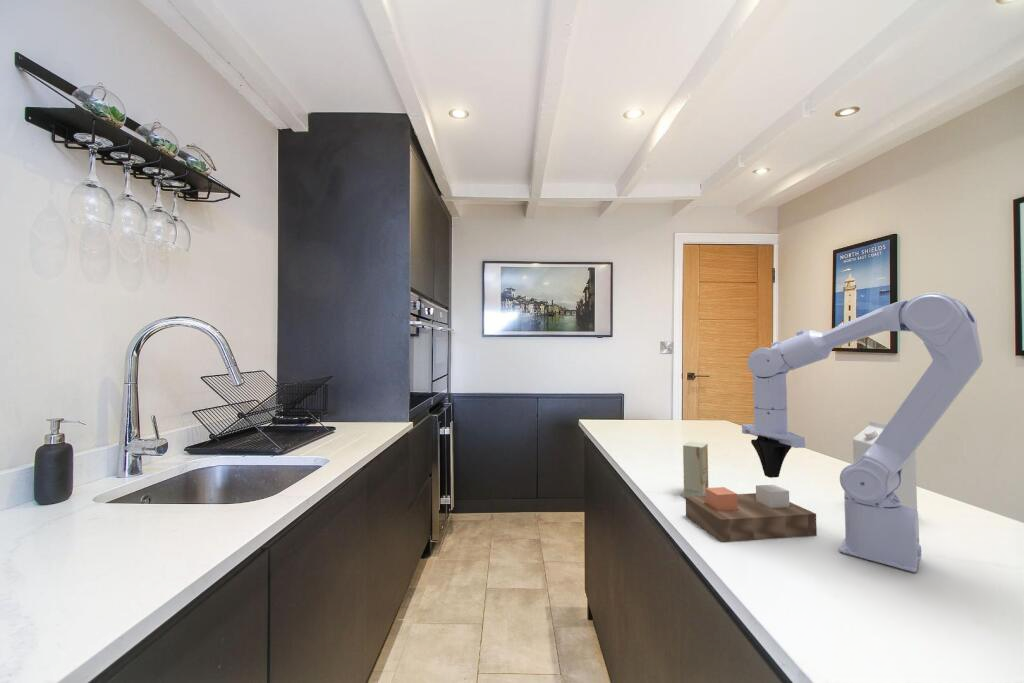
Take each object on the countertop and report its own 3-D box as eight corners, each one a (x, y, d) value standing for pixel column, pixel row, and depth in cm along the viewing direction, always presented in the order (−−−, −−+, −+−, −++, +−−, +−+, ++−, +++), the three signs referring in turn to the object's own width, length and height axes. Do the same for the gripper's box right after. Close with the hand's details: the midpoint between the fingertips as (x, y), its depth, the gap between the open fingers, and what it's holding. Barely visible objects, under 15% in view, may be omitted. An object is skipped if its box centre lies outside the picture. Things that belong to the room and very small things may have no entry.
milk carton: (889, 508, 91) (886, 420, 91) (918, 521, 84) (914, 426, 84) (854, 507, 91) (851, 420, 92) (879, 520, 84) (876, 425, 85)
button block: (769, 511, 89) (768, 492, 89) (816, 535, 77) (816, 513, 78) (685, 516, 87) (685, 496, 87) (721, 542, 75) (721, 519, 75)
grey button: (774, 504, 85) (773, 484, 85) (789, 511, 81) (789, 491, 81) (756, 505, 85) (755, 485, 85) (770, 512, 81) (770, 491, 81)
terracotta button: (724, 507, 84) (723, 487, 84) (737, 514, 80) (737, 493, 80) (705, 508, 83) (705, 488, 83) (718, 516, 79) (717, 494, 79)
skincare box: (703, 501, 96) (701, 447, 96) (683, 497, 98) (682, 445, 99) (709, 493, 101) (708, 442, 101) (690, 490, 104) (689, 440, 104)
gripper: (728, 404, 90) (729, 467, 90) (779, 413, 76) (781, 489, 75) (758, 403, 91) (759, 466, 91) (814, 412, 77) (816, 487, 76)
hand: (771, 476), depth 83 cm, fingers closed
